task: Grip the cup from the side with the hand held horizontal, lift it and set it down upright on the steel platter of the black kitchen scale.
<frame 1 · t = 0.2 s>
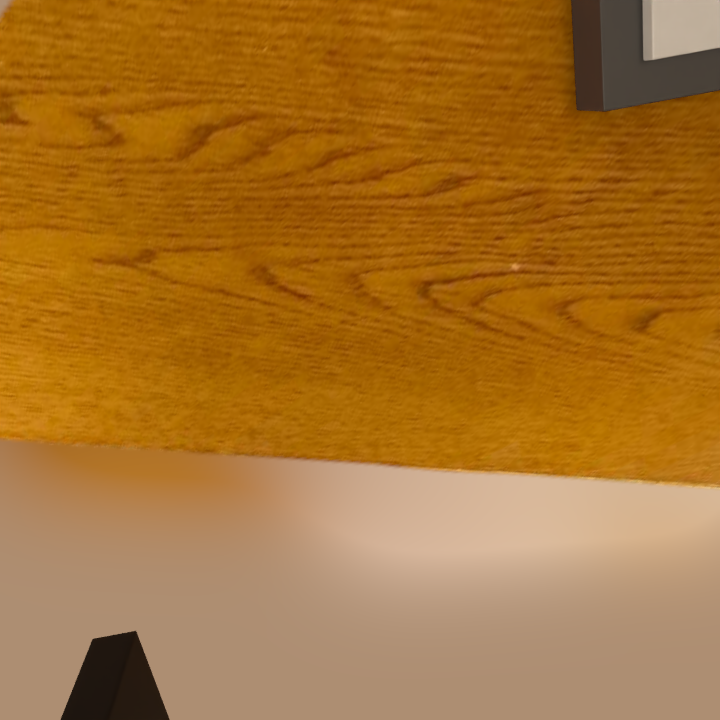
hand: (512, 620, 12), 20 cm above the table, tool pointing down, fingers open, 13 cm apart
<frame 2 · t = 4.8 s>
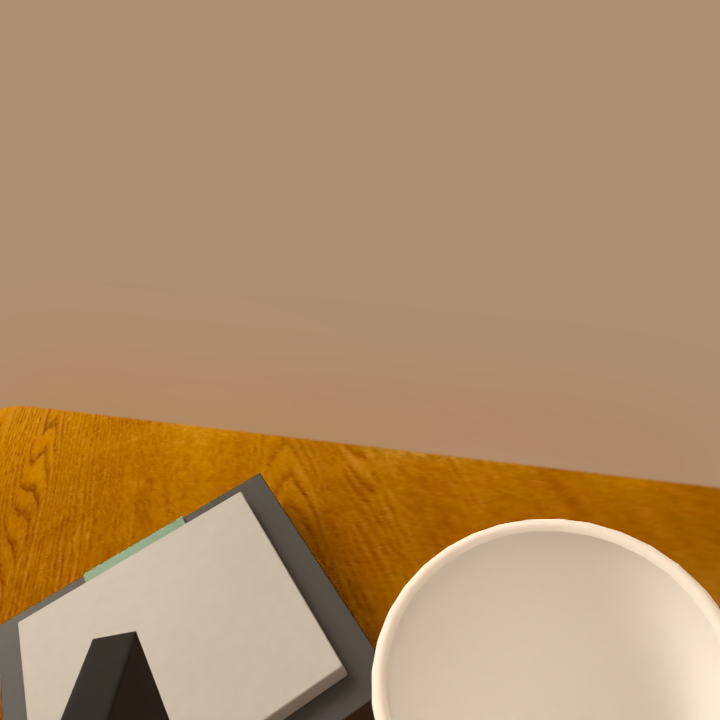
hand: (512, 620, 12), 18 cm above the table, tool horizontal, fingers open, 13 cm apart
scale: (193, 681, 34), on the table
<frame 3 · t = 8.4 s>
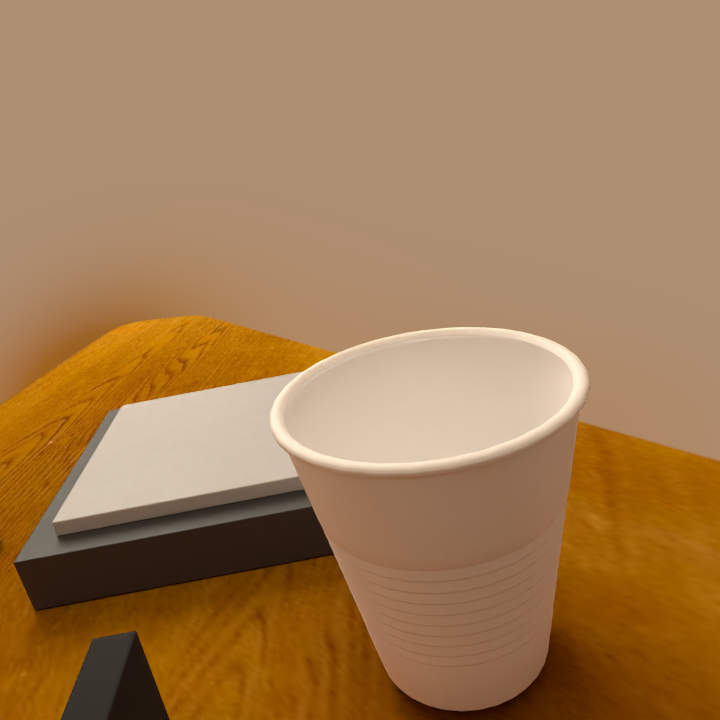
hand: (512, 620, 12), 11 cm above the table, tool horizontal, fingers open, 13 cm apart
scale: (222, 487, 39), on the table
cup: (464, 652, 25), on the table
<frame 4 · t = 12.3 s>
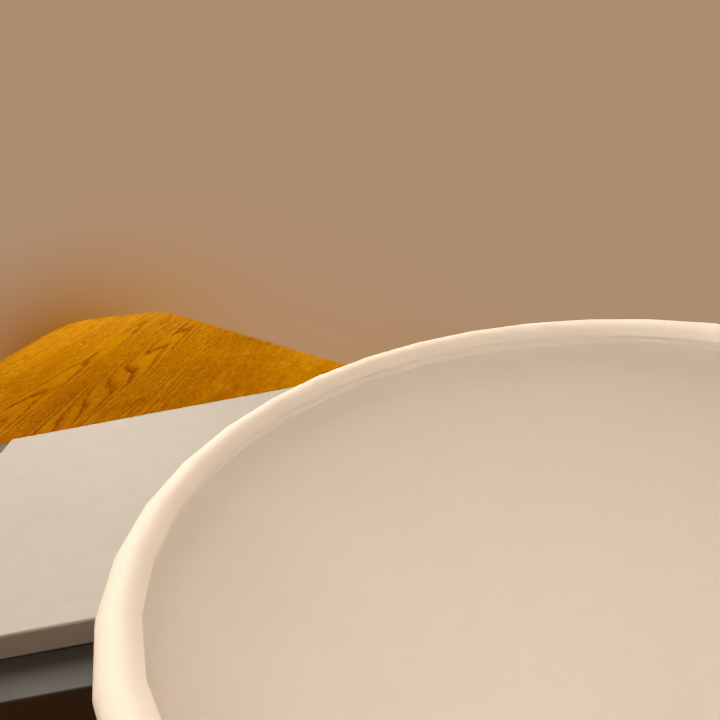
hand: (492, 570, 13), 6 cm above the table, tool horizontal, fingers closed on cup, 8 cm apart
scale: (147, 573, 25), on the table
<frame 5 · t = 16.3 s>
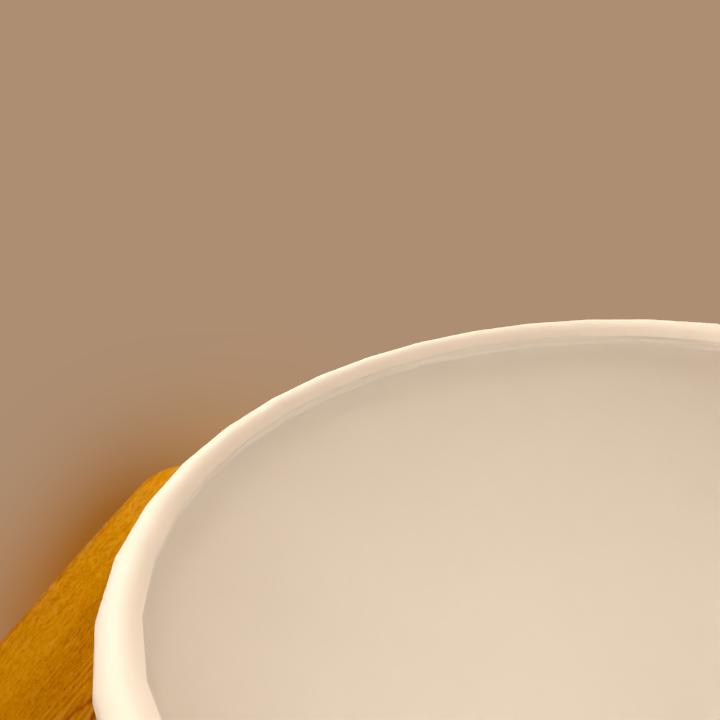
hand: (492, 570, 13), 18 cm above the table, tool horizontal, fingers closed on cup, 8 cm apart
when the fingers open (10 cm above the table, at t = 20.3 s): cup stays where it is, resting on scale.
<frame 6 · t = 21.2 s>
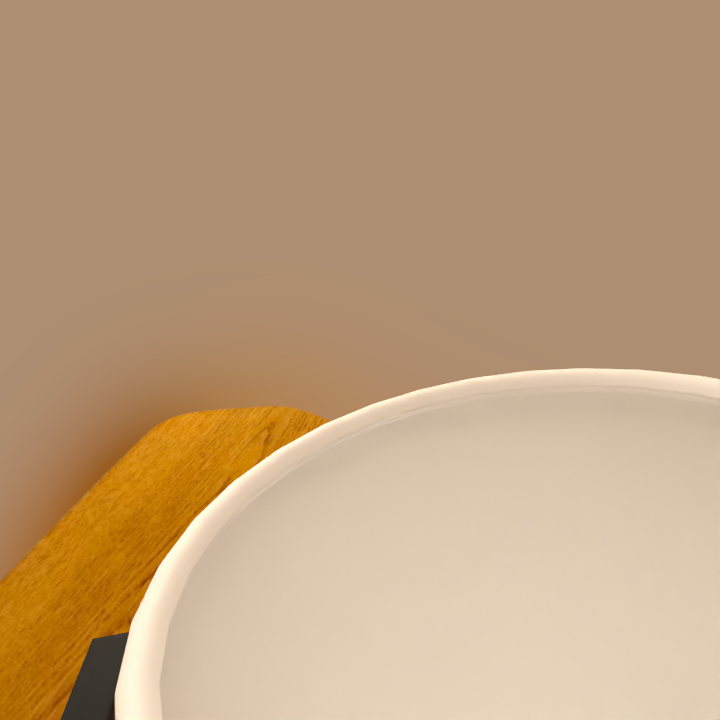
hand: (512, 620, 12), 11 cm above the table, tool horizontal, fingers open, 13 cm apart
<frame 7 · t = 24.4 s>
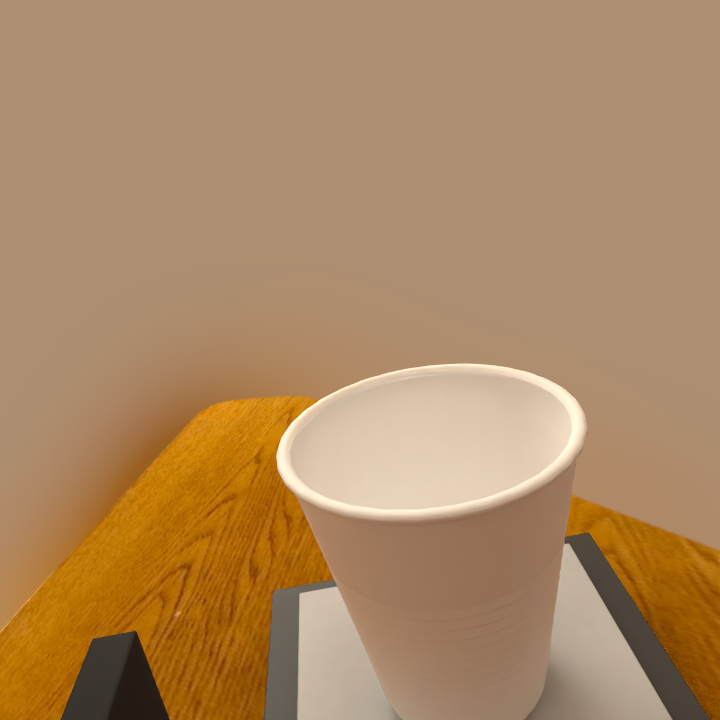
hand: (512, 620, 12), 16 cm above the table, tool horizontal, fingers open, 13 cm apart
cup: (463, 680, 26), point 3 cm above the table, touching scale
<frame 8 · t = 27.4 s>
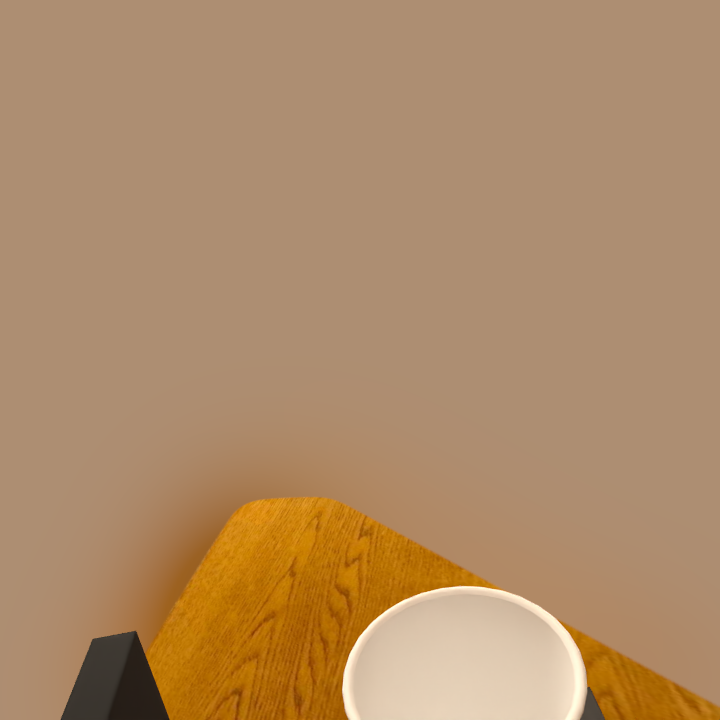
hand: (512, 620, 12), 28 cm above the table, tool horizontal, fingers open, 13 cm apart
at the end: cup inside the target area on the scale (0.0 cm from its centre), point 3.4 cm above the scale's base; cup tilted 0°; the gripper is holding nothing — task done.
